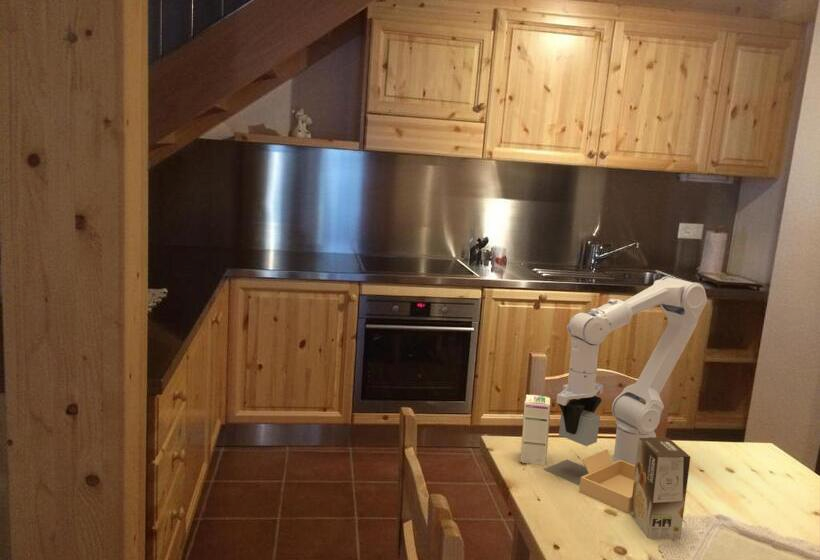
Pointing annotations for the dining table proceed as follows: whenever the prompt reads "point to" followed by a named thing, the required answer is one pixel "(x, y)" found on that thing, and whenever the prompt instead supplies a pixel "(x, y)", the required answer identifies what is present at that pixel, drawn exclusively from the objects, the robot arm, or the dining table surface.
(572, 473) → the mat
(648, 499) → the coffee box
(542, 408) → the syrup box
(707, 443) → the dining table surface
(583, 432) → the block
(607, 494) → the carton
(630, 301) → the robot arm
